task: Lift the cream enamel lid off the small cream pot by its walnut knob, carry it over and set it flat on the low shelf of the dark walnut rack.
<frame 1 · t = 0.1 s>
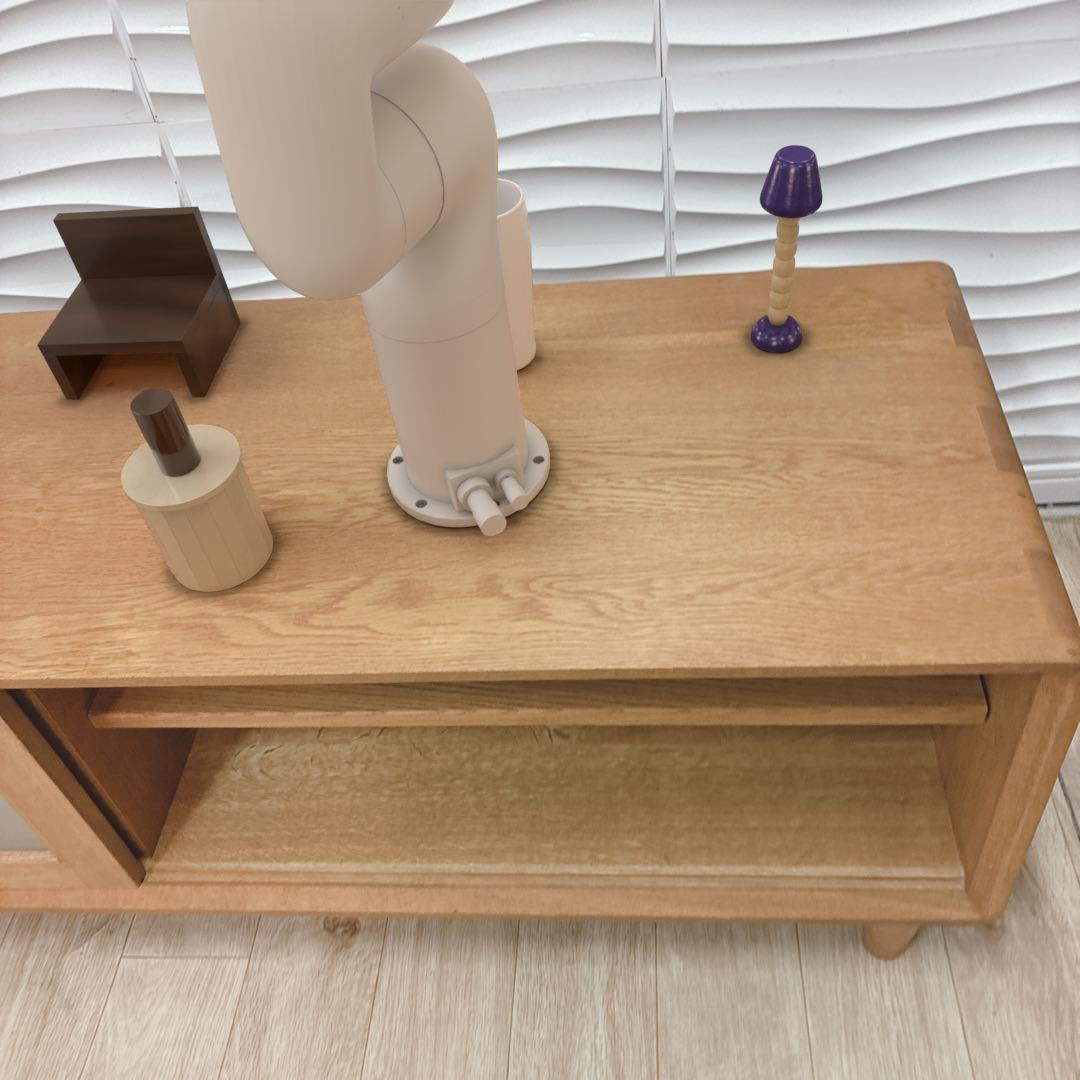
toy lamp: (779, 341, 91), on the table
rack: (156, 359, 98), on the table
lid: (183, 469, 74), point 8 cm above the table, touching pot
pot: (222, 553, 80), on the table
drinking glass: (506, 359, 93), on the table
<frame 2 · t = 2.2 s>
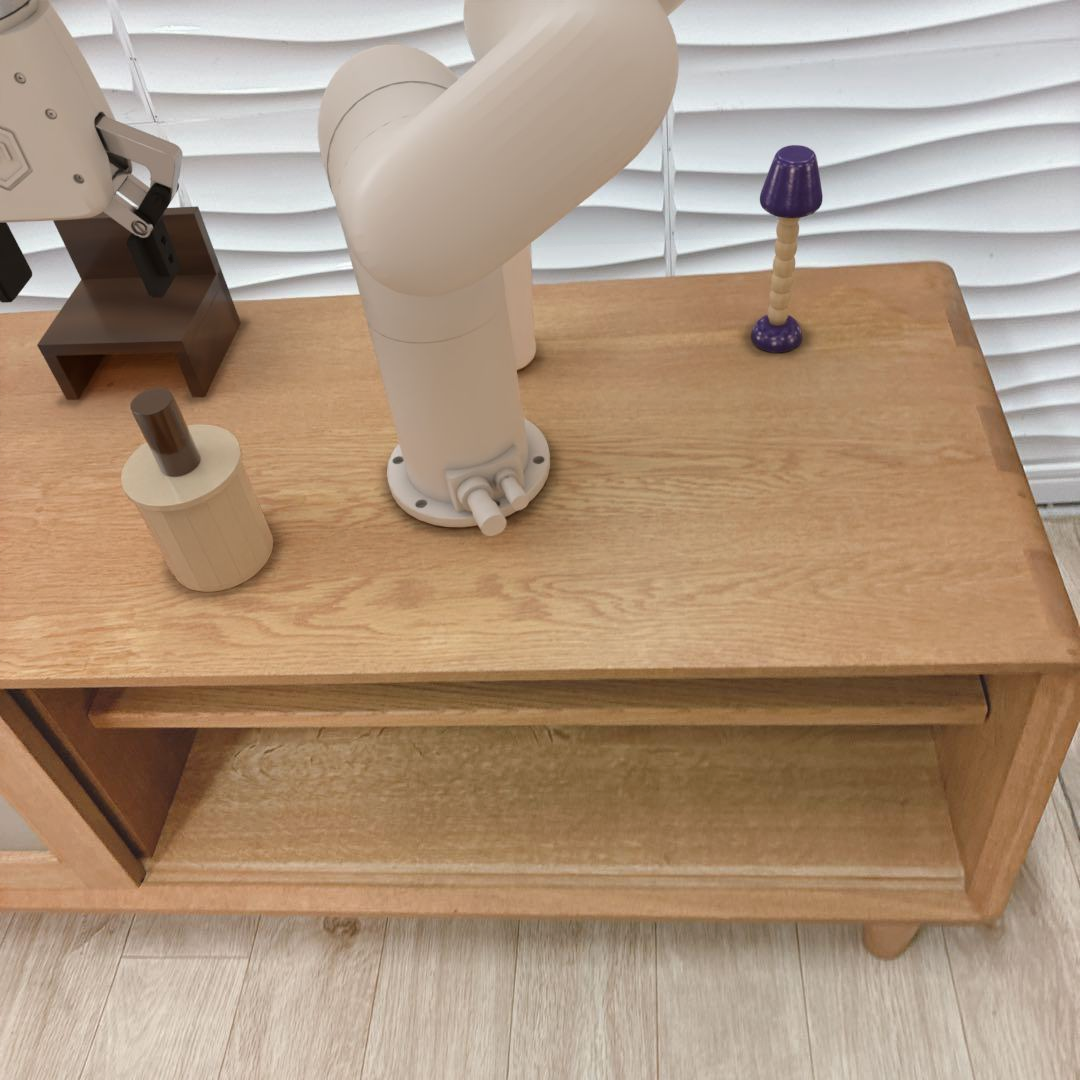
hand: (91, 287, 65), 22 cm above the table, tool pointing down, fingers open, 9 cm apart
nothing on the table moved.
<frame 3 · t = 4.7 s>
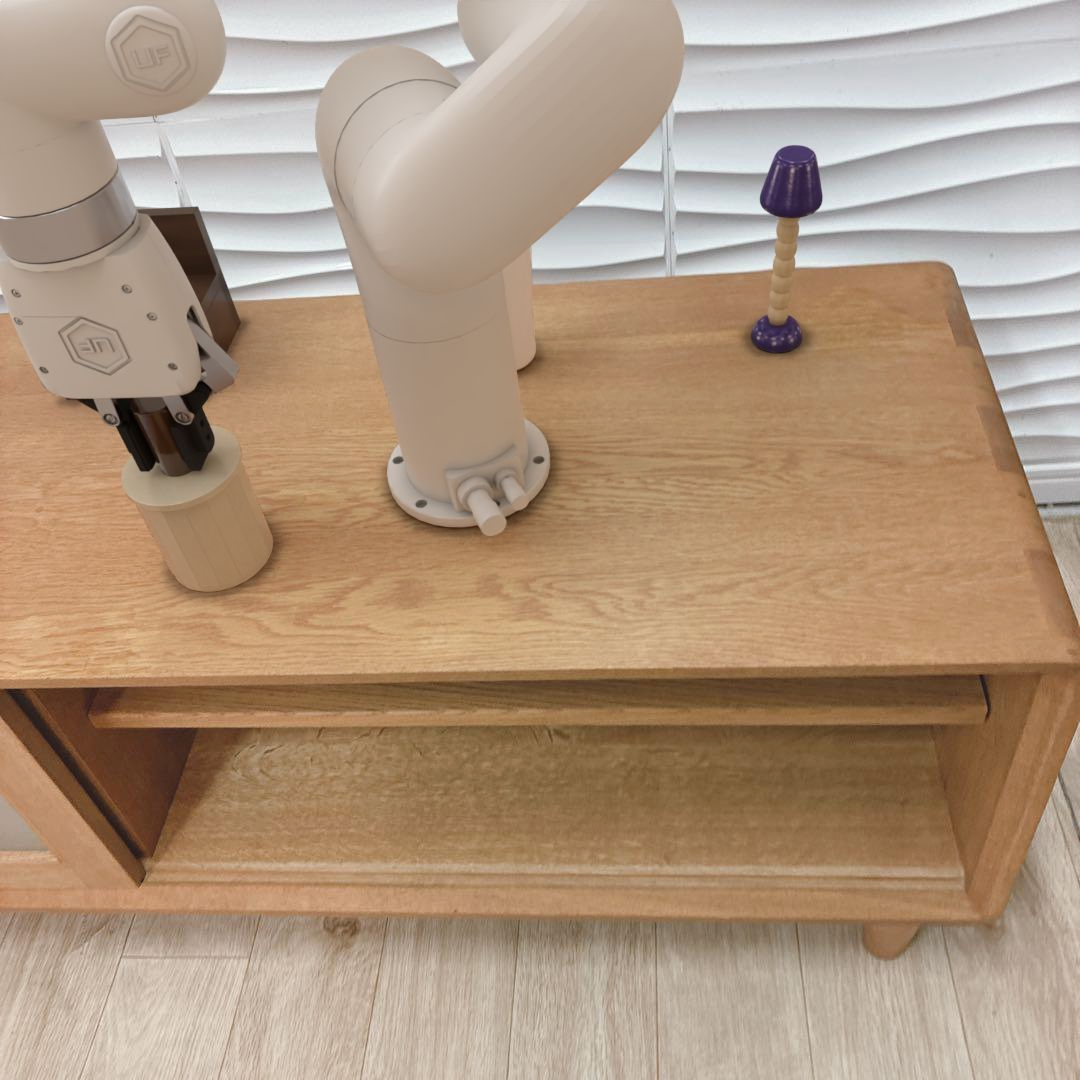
hand: (177, 455, 73), 10 cm above the table, tool pointing down, fingers closed on lid, 2 cm apart
lid: (183, 469, 74), point 9 cm above the table, touching gripper, pot
everything else where it was.
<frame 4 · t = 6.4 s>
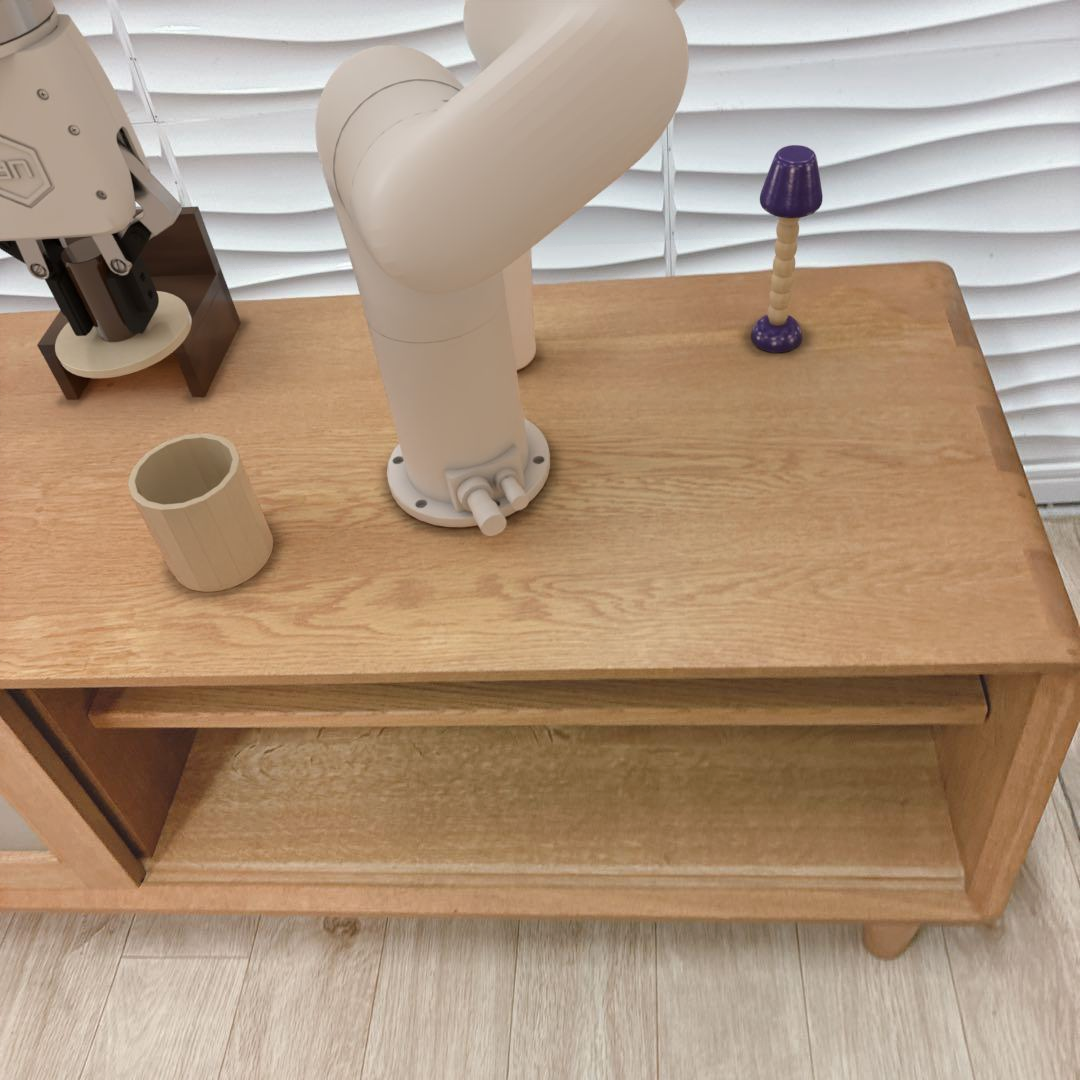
hand: (117, 319, 65), 21 cm above the table, tool pointing down, fingers closed on lid, 2 cm apart
lid: (125, 336, 66), point 19 cm above the table, touching gripper
everything else where it was.
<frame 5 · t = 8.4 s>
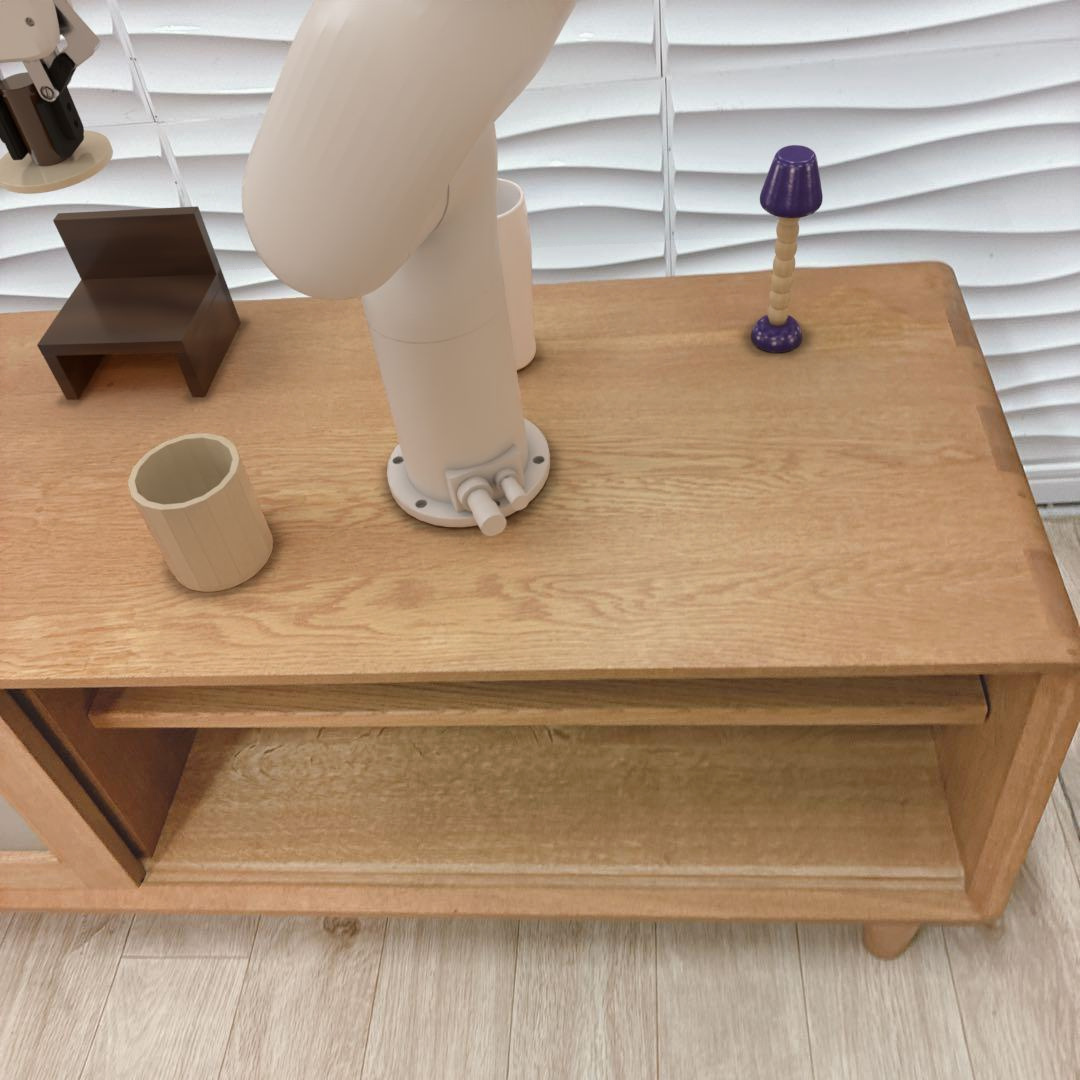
hand: (48, 147, 77), 23 cm above the table, tool pointing down, fingers closed on lid, 2 cm apart
lid: (56, 164, 78), point 22 cm above the table, touching gripper
everything else where it was.
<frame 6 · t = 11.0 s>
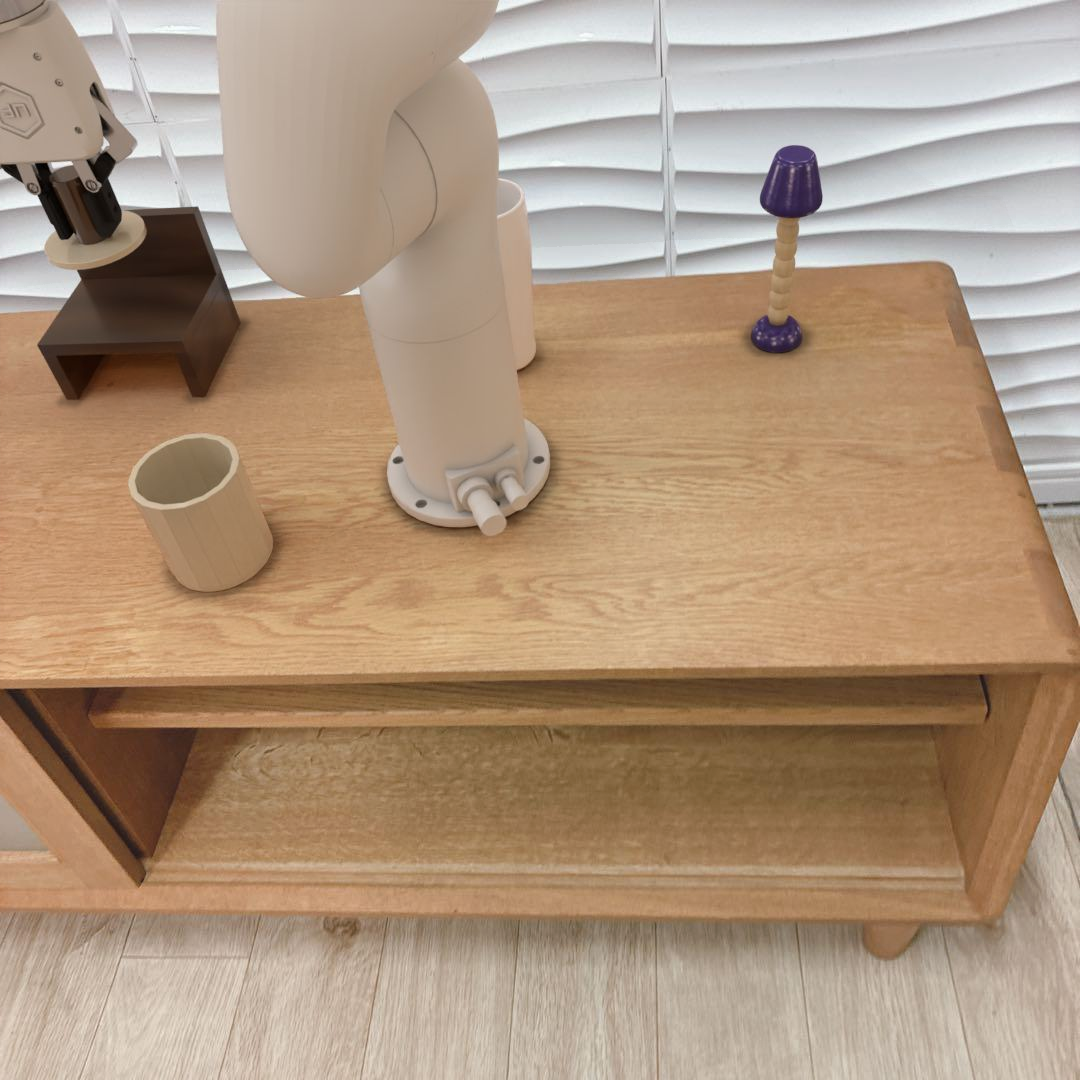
hand: (91, 228, 88), 14 cm above the table, tool pointing down, fingers closed on lid, 2 cm apart
lid: (97, 242, 89), point 13 cm above the table, touching gripper
everything else where it was.
when the fingers open (8 cm above the table, at t = 12.5 s): lid stays where it is, resting on rack.
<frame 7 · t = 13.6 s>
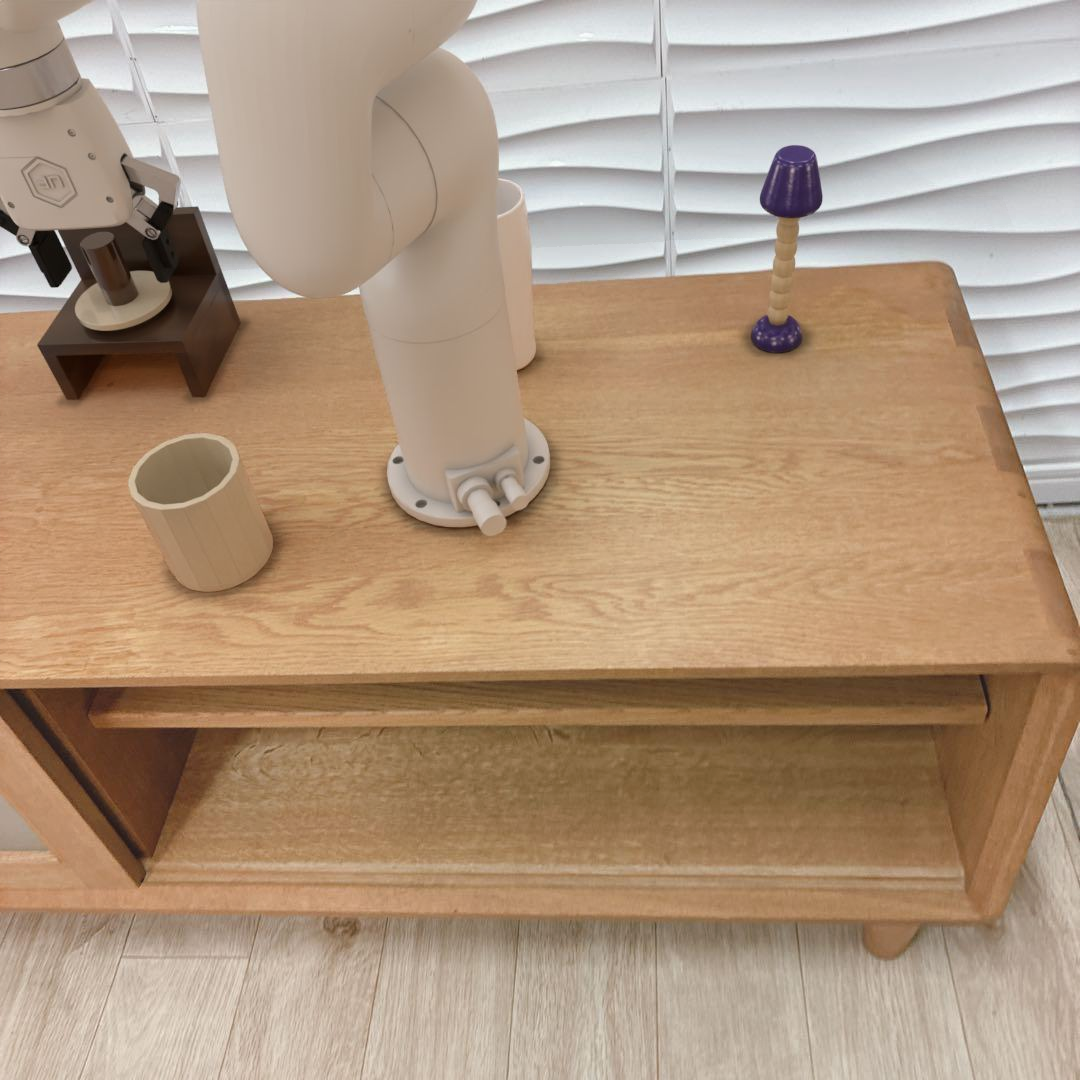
hand: (115, 276, 91), 9 cm above the table, tool pointing down, fingers open, 9 cm apart
lid: (125, 302, 93), point 7 cm above the table, touching rack
everything else where it was.
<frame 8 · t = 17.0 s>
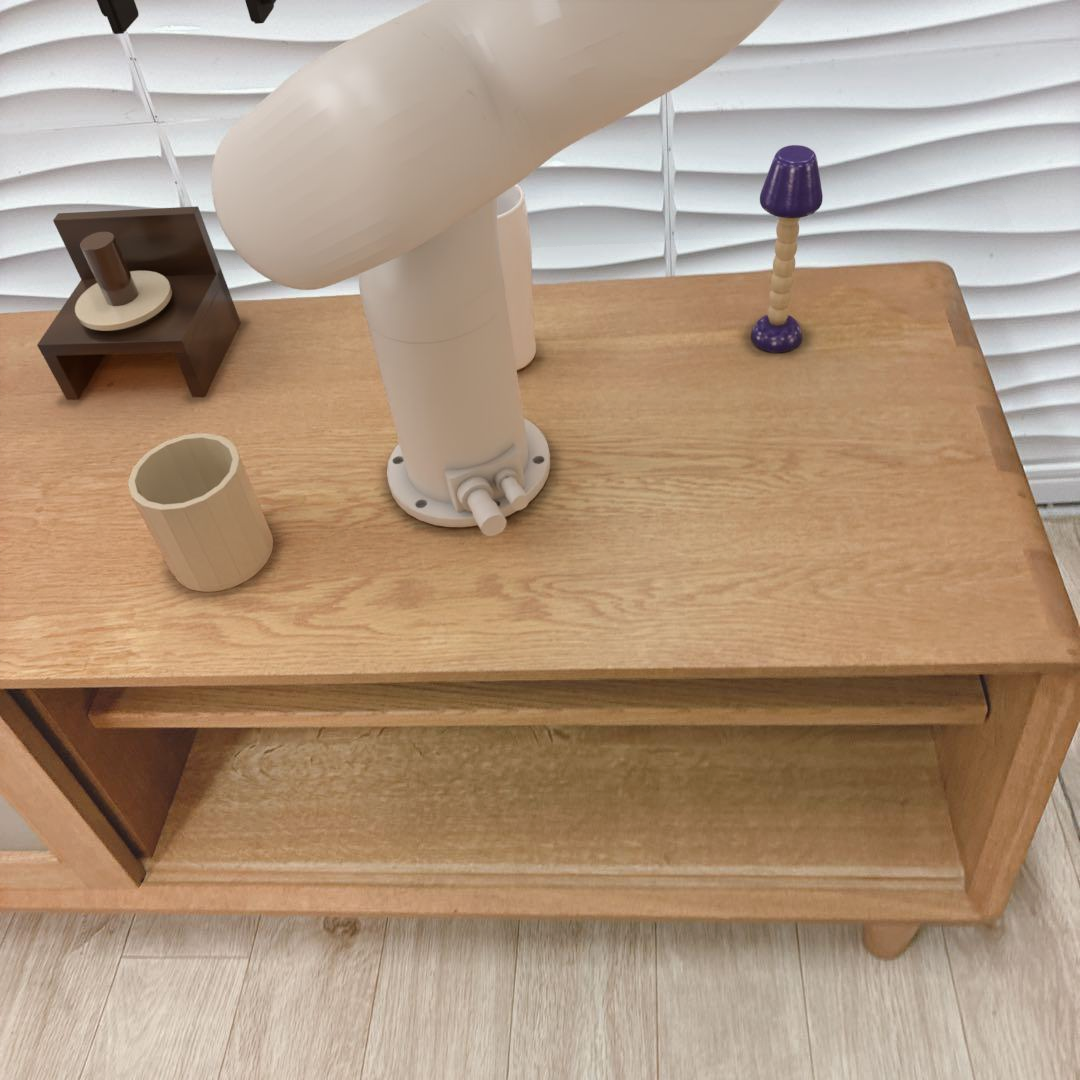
hand: (194, 20, 72), 30 cm above the table, tool pointing down, fingers open, 9 cm apart
nothing on the table moved.
at the end: lid inside the target area on the rack (0.2 cm from its centre), point 6.6 cm above the rack's base; lid tilted 0°; the gripper is holding nothing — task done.
